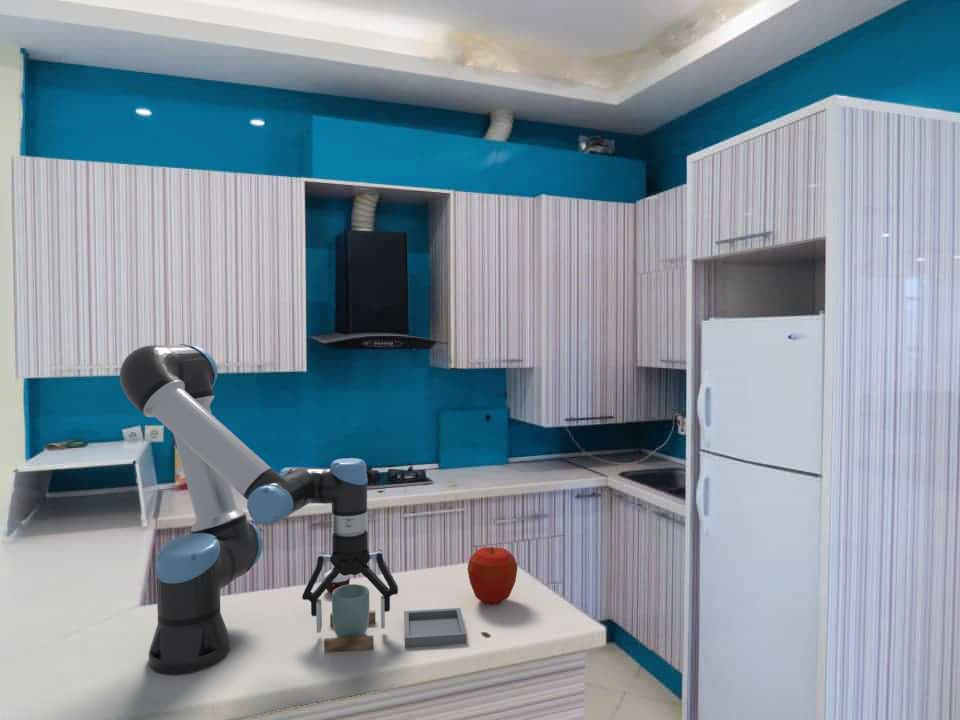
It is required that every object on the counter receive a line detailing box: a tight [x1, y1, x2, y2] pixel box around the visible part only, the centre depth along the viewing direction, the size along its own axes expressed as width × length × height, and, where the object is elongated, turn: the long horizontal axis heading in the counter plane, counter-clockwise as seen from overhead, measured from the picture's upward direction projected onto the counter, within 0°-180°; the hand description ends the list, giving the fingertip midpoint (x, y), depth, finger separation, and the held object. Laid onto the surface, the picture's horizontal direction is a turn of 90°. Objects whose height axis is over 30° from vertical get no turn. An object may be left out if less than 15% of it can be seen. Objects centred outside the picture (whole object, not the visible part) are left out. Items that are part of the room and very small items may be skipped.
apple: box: [467, 545, 518, 606], centre depth 154 cm, size 12×12×14 cm
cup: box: [331, 583, 371, 638], centre depth 137 cm, size 8×8×10 cm
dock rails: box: [323, 610, 376, 654], centre depth 137 cm, size 10×13×2 cm
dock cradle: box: [403, 607, 467, 648], centre depth 140 cm, size 13×13×2 cm
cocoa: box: [323, 568, 351, 595], centre depth 161 cm, size 10×6×12 cm, turn 156°
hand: (351, 627), depth 137 cm, fingers open, 13 cm apart
